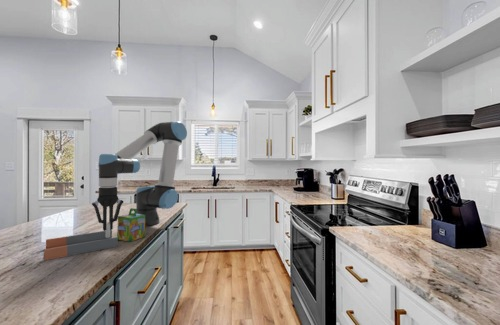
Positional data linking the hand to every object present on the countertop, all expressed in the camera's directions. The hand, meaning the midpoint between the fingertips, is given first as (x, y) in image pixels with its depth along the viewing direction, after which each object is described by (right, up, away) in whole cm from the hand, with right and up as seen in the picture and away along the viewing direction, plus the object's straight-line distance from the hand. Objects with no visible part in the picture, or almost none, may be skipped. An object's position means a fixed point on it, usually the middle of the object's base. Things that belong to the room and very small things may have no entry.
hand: (107, 236), depth 111 cm
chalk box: (+8, -3, +7) cm, 11 cm away
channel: (-8, -3, -6) cm, 10 cm away
